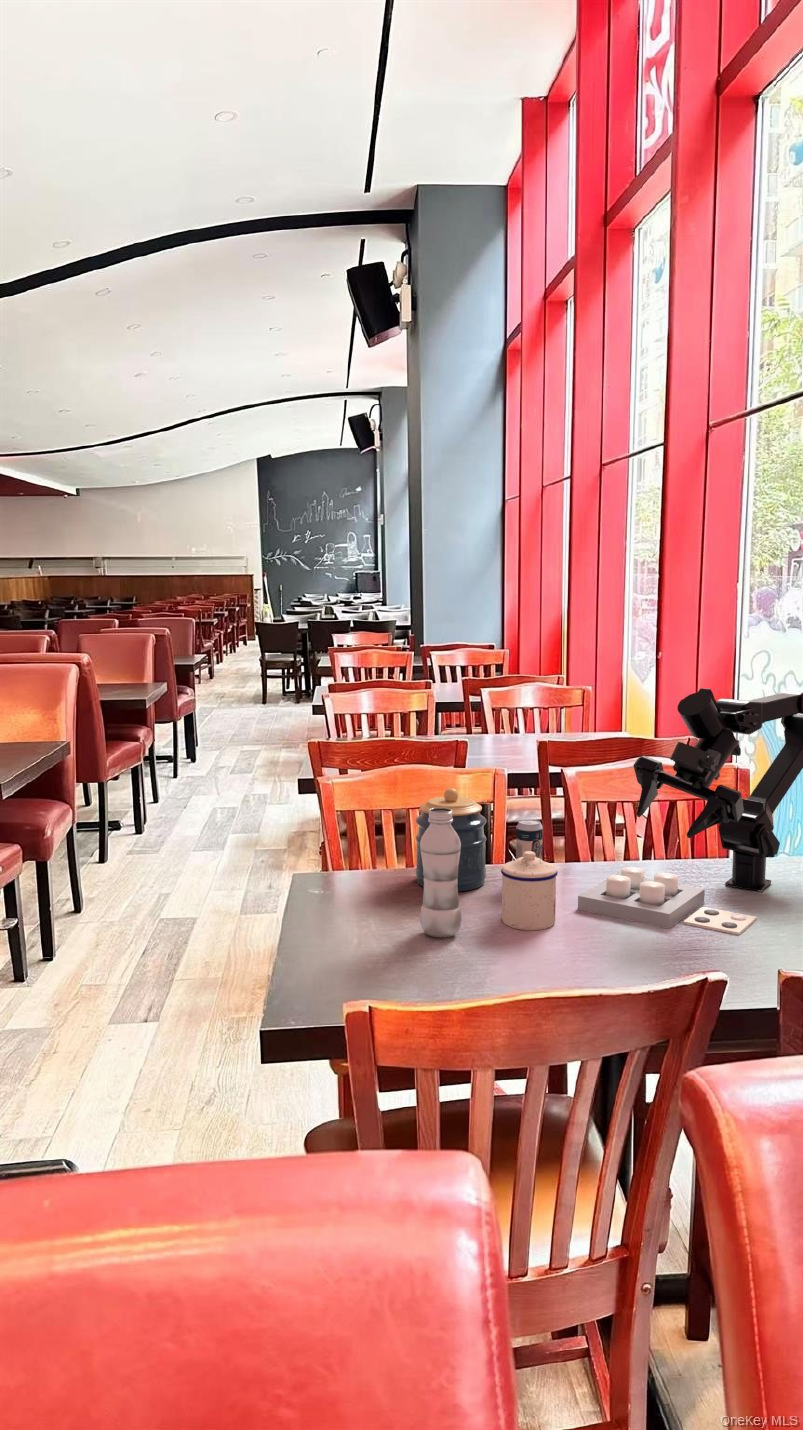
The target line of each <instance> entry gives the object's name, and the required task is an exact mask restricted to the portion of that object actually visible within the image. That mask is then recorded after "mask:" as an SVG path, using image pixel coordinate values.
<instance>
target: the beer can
mask: <svg viewBox="0 0 803 1430" xmlns="http://www.w3.org/2000/svg"><path fill="white" fill-rule="evenodd" d="M515 828H516V832H515V833H516V841H515V843H516V846H515V847H516V849H515V851H516V852H515V853H516V854H515V855H516V856H515V860H516V859H518V858H521V857H523V853H524V852H526V851H532V852H534V853H535V854H536V858H539V859H541V860H543V832H544V831H543V829H544V827H543V825H542V823H541V821H540V820H536V819H522V820H519V821H518V823H517V825H516V826H515Z"/></svg>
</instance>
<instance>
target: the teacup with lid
mask: <svg viewBox="0 0 803 1430" xmlns="http://www.w3.org/2000/svg"><path fill="white" fill-rule="evenodd" d="M500 873H501V875H502V877H501V878H502V881H501V882H502V884H501V886H502V887H501V888H502V893H501V901H502V902H501V920H502V922H503V923H504V925H506V926H508V927H510V928H513V929H515V930H522V931H540V930H541V931H542V930H544V929H545V930H547V929H549V928H551V927H552V926H553V925H554V924H555V923H556V910H557V909H556V906H557V905H556V904H557V903H556V899H557V898H556V895H557V876H558V874H559V873H558V870H557V867H556V866H555V865H554V864H552V863H550V862H546V861H544V860H543V859H542V860H541V859H539V858H536V854H535V853H534V852H532V851H526V852H524V853H523V857H521V858H518V859H516V858H515V860H511V861H508V862H506V863H504V864H503V865H502V867H501V869H500Z"/></svg>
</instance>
